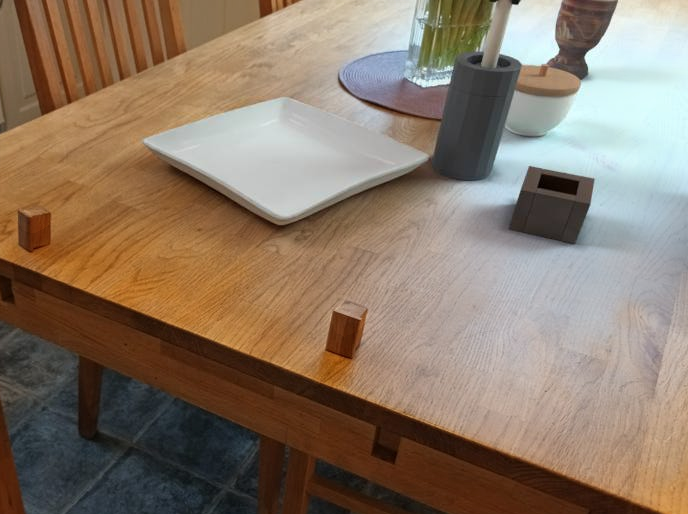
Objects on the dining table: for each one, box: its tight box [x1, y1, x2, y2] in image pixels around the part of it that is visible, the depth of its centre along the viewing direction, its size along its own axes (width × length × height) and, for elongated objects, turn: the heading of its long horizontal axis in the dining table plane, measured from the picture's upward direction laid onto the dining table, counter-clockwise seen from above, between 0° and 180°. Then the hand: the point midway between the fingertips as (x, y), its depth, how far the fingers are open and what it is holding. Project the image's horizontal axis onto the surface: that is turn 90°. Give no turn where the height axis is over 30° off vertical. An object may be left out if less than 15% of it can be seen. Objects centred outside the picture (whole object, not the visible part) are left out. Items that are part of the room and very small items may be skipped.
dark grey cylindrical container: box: [431, 51, 523, 181], centre depth 93 cm, size 8×8×14 cm
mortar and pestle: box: [545, 0, 619, 80], centre depth 124 cm, size 12×9×20 cm
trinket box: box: [504, 63, 582, 138], centre depth 106 cm, size 11×11×9 cm
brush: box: [475, 0, 513, 68], centre depth 86 cm, size 3×3×22 cm
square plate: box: [141, 96, 430, 226], centre depth 94 cm, size 27×27×4 cm
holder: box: [507, 165, 596, 245], centre depth 84 cm, size 7×7×5 cm
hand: (505, 0), depth 84 cm, fingers closed on brush, 2 cm apart
